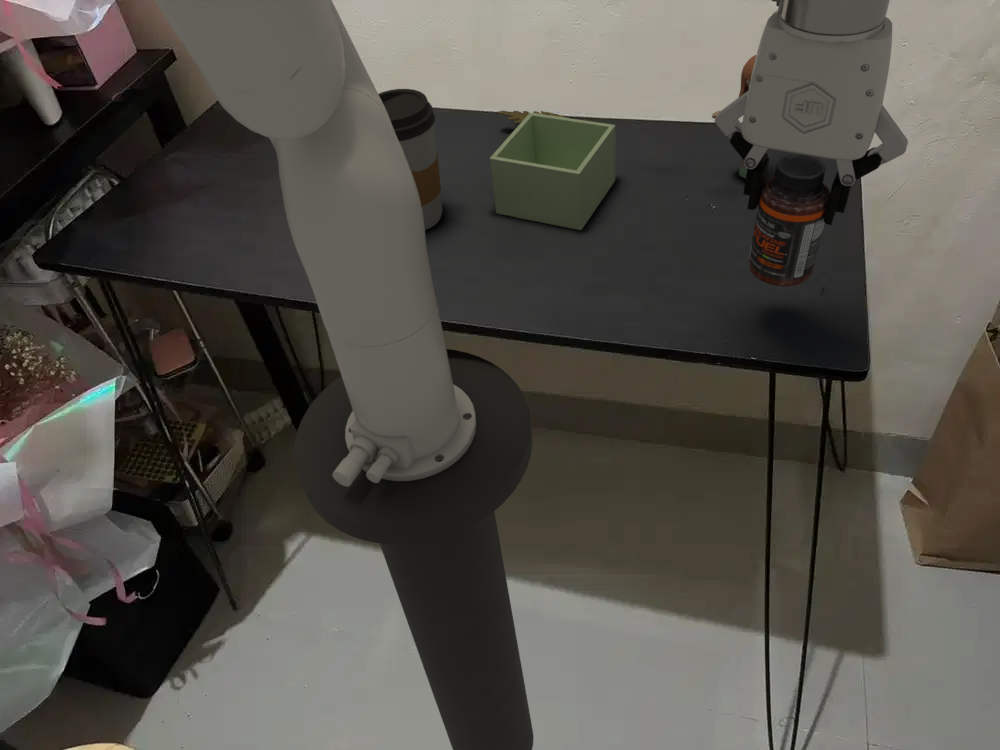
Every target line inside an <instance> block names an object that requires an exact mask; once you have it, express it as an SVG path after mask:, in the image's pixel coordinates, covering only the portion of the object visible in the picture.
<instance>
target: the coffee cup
mask: <svg viewBox="0 0 1000 750" xmlns="http://www.w3.org/2000/svg"><path fill="white" fill-rule="evenodd" d="M378 95H379V97H380V99H381V100H382V102H383V104H384V107H385V109H386V111H387V113H388V116H389V118H390V120H391V123H392V126H393V128H394V131H395V133H396V136H397V139H398V141H399V143H400V144H401V146H402V149H403V151H404V154H405V157H406V159H407V162H408V164H409V167H410V170H411V172H412V175H413V178H414V181H415V184H416V187H417V190H418V194H419V198H420V202H421V207H422V212H423V219H424V227H425V231H426V230H428V229H431V228H432V227H435V226H436V225H437V224H438V222H439V221H440V220H441V218H442V214H443V205H442V204H443V202H442V193H441V191H442V186H441V175H440V165H439V153H438V151H437V143H436V133H435V122H436V115H435V113H434V109H433V106H432V104H431V103H430V102H429V100H428V97H427V95H426V94H425V93H423V92H422V91H419V90H418V89H417V90H416V89H411V88H395V89H389V90H385V91H381V92H378Z"/></svg>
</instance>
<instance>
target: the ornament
mask: <svg viewBox="0 0 1000 750" xmlns="http://www.w3.org/2000/svg"><path fill="white" fill-rule="evenodd" d="M529 113H530V112H529V111H528V110H523V111H519V110H513V111H507V110H499V111H498V112H497V114H499V115H502V116H506V117H507V120H509V121H513V123H515V124H517V125H519V124H520V123H521V122H522V121H523V120H524V119H525V118H526V117H527V115H528V114H529ZM532 113H537V114H544V115H551V116H557V117H564V118H569V117H568V116H563V115H560V114H559V113H554V112H550V111H549V112H548V111H543V110H541V111H540V112H539V111H536V110H534V111H532Z"/></svg>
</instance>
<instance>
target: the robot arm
mask: <svg viewBox="0 0 1000 750" xmlns="http://www.w3.org/2000/svg"><path fill="white" fill-rule="evenodd" d="M890 1H891V0H771V2H775V3H776V5H775V6H776V7H778V8H777V10H775V11H774V12H773V13H772V14H771V16H769V17H768V19H767V21H766V23H765V26H764V28H763V31H762V35H761V38H760V40H759V44H758V46H757V47H758V48H757V51H756V54H755V55H756V59H755V63H754V67H753V71H752V76H751V80H750V85H749V90H748V91H747V92H746V93H744V94H743V95H742V96H740V97H739V96H738V97H737V98H736V99H735V100H733V101H732V102H730V103H729V104H728V105H727V106H725V107H724V108H723V109H721V110H719V111H720V112H719V114H718V115H717V117H716V119H714V124H715V125H716V127H717V128H718V129H719V130H720V131H721V132H722V134H723V135H724V136H725V137H726V138H728V140H729V144H730V146H731V147H732V149H733V150H734V151H736V152H737V154H738V155H739V156H740V158H741V160H742V159H743V160H744V166H745V167H746V168H747V173H746V179H745V178H744V179H745V181H744V187H743V196H744V195H745V196H748V203H747V210H750V211H754V210H757V209H758V204H759V199H760V193H761V190H762V187H763V185H764V184H765V183H766V181H767V176H768V170H769V164H770V159H771V158H770V157H769V153H768V151H769V150H774V151H780V152H786V153H791V154H803V155H809V156H814V157H816V158H823V159H829V160H835V165H836V169H837V170H836V174H835V176H834V180H833V182H832V184H831V187H830V196H829V200H828V204H827V209H826V213H825V217H824V221H823V222H825V224H824V225H828V226H832V225H833V222H834V220H835V218H836V217H835V216H836V214H837V213H840V214H841V213H842V214H844V213H845V211H846V209H847V205H848V201H849V197H850V194H851V190H852V186H853V185H854V184H855V183H856V181H857V180H859V179H861V178H864V177H865V176H867V175H869V174H871V173H872V172H874V171H876V170H878V169H879V168H880V166H882V165H884V164H887V163H890V162H891V161H893V160H895V159H896V158H898V157H901V156H902V155H904V154H905V153H906V151H907V147H908V146H909V139H908V138H907V137H906V135H905V134H904V133H903V131H902V130H901V128H900V127H899V126H898V124H897V123H896V121H895V119H893V117H892V116H891V115H890V113H889V112H888V111H887V109H886V108H885V106H884V105H883V103H884V99H885V98H884V97H885V95H886V94H885V93H886V88H887V84H888V77H889V71H890V65H891V56H892V46H893V22H892V21H891V19H890V18H889V17H887V12H888V9H889V6H890V5H889V4H890ZM154 3H156V5H157V7H158V8H159V10H160V12H161V13H162V14H163V16H164V17H165V19H166V21H167V22H168V24H169V25H170V27H171V29H173V31H174V33H175V35H176V36H177V38H178V39H179V41H180V43H182V46H183V47H184V49H185V51H187V53H188V55H189V56H190V58H191V59H192V61H193V63H194V64H195V66H196V68H197V70H198V71H199V73H200V74H201V76H202V78H203V80H204V81H205V83H206V85H207V86H208V88H209V90H210V92H211V93H212V95H213V96H214V97H215V99H216V100H217V101H218V102H219V104H220V105H221V107H222V108H223V109H224V111H226V112H227V114H229V115H230V116H231V117H232V118H233V119H234V120H235V121H236V122H237V123H239V124H240V125H242V126H244V127H245V128H247V130H249V131H252V132H253V133H256V134H259V135H261V136H263V137H265V138H268V139H269V140H270V142H271V144H272V146H273V148H274V150H275V152H276V158H277V165H278V175H279V182H280V189H281V193H282V194H281V195H282V201H283V207H284V211H285V212H284V213H285V217H286V220H287V224H288V228H289V233H290V236H291V240H292V242H293V245H294V248H295V250H296V253H297V255H298V257H299V259H300V262H301V265H302V267H303V269H304V271H305V274H306V277H307V279H308V283H309V286H310V288H311V290H312V293H313V296H314V299H315V302H316V306H317V308H318V311H319V315H320V317H321V320H322V323H323V326H324V328H325V331H326V333H327V336H328V339H329V343H330V345H331V348H332V351H333V354H334V357H335V361H336V363H337V366H338V369H339V373H340V376H342V379H343V382H344V385H345V388H346V391H347V394H348V397H349V400H350V403H351V406H352V409H353V411H352V413H351V415H350V416H349V418H348V421H347V425H346V428H345V439H346V444H347V448H348V450H349V454H348V455H347V457H346V458H344V459H343V460H342V461H341V463H340V464H339V465H338V467H337V468H336V469H335V471H334V472H333V474H332V475H333V478H334V479H335V480H336V481H337V482H338V483H339V484H341V485H343V486H346V487H349V486H350V485H351V484H352V483H353V481H354V480H355V479H356V477H357V476H358V475H359V473H360V472H361V469H363V470H364V471H365V472H367V473H366V477H367V478H368V479H369V480H370V481H372V482H374V483H379V481H380V480H381V479H385V480H392V481H412V480H418V479H423V478H426V477H429V476H432V475H435V474H437V473H439V472H441V471H443V470H445V469H447V468H449V467H450V466H451V465H453V464H454V463H455V462H457V461H458V460H459V459H460V458H461V457H462V456H463V455H464V454H465V453H466V451H467V450H468V448H469V447H470V445H471V443H472V441H473V439H474V436H475V433H476V425H477V423H476V415H475V410H474V406H473V404H472V402H471V400H470V399H469V397H468V396H467V395H466V394H465V393H464V391H463V390H461V389H460V388H458V387H457V386H456V385H454V384H453V381H452V376H451V371H450V366H449V361H448V356H447V351H446V349H447V345H446V340H445V336H444V331H443V326H442V321H441V316H440V310H439V307H438V306H439V305H438V301H437V296H436V293H435V288H434V282H433V276H432V272H431V266H430V261H429V255H428V249H427V239H426V230H425V227H424V219H423V212H422V207H421V202H420V198H419V194H418V190H417V187H416V184H415V181H414V178H413V175H412V172H411V170H410V167H409V164H408V162H407V159H406V157H405V154H404V151H403V149H402V146H401V144H400V143H399V141H398V139H397V136H396V133H395V131H394V128H393V126H392V123H391V120H390V118H389V116H388V113H387V111H386V109H385V107H384V104H383V102H382V100H381V99H380V97H379V95H378V94H379V92H378V91H377V89H376V87H375V84H374V83H373V81H372V79H371V77H370V74H369V72H368V71H367V69H366V67H365V64H364V62H363V61H362V58H361V56H360V55H359V52H358V51H357V47H356V46H355V45H354V42H353V41H352V38H351V37H350V34H349V33H348V30H347V28H346V26H345V25H344V23H343V20H342V18H341V16H340V13H339V12H338V10H337V7H336V6H335V3H334V2H333V0H154ZM750 117H751V118H750ZM740 118H742V121H743V122H742V121H740V120H739V119H740ZM741 123H742V125H741ZM875 134H876V136H877V137H878V139H879V140H880V141H881V142H882V143H881V144H879V145H878V146H875V147H871V144H872V142H873V139H874V137H875ZM870 147H871V148H870ZM768 149H769V150H768ZM767 150H768V151H767ZM766 151H767V152H766Z"/></svg>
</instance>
